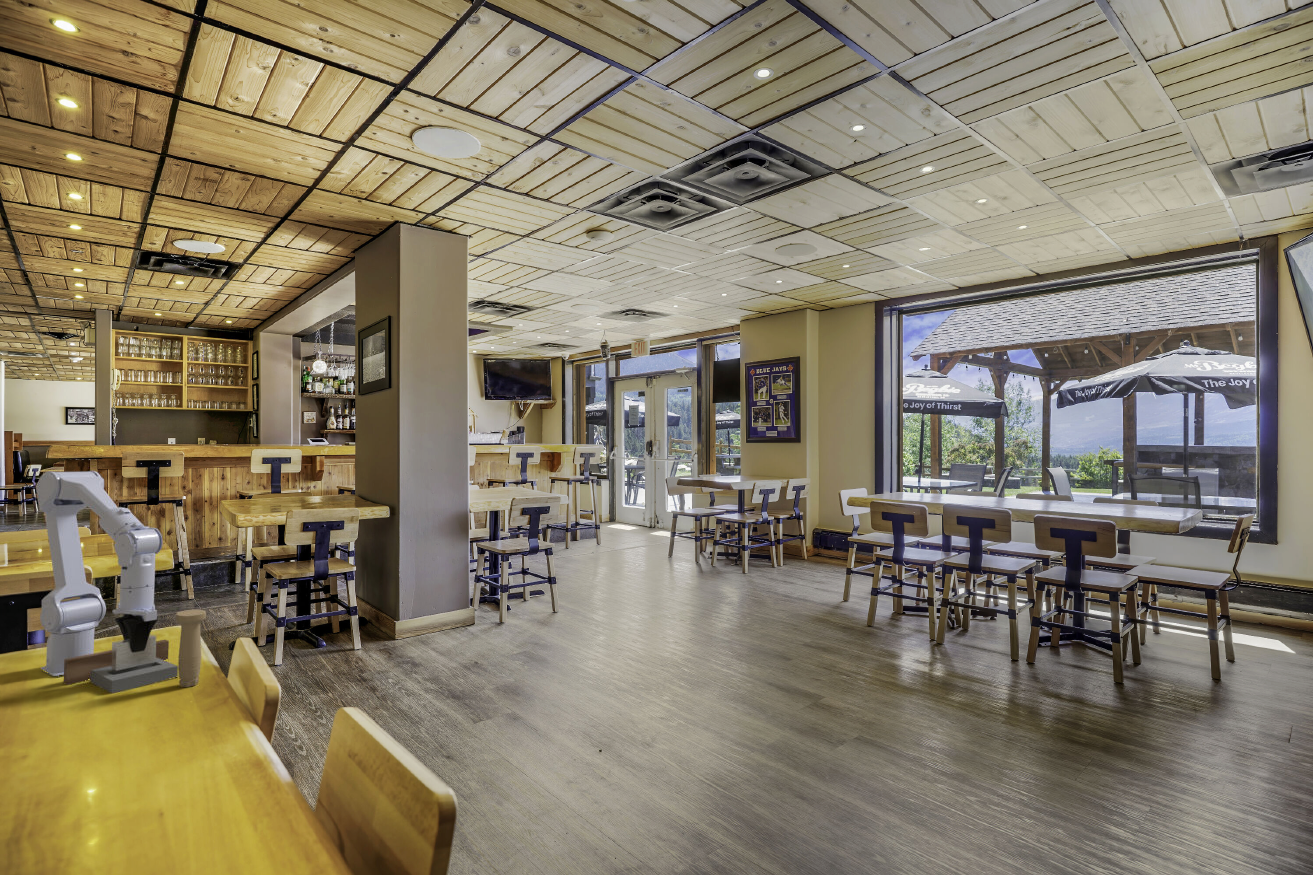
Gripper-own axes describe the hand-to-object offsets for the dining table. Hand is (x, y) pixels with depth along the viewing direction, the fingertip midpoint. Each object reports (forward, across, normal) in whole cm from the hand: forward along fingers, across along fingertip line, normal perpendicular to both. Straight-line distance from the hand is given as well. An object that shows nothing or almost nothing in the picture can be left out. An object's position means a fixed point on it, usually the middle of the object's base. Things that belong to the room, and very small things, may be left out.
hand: (135, 650), depth 140 cm
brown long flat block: (+6, -9, 0) cm, 11 cm away
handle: (+6, +13, +5) cm, 15 cm away
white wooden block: (+3, 0, 0) cm, 3 cm away
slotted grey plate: (+6, 0, 0) cm, 6 cm away
